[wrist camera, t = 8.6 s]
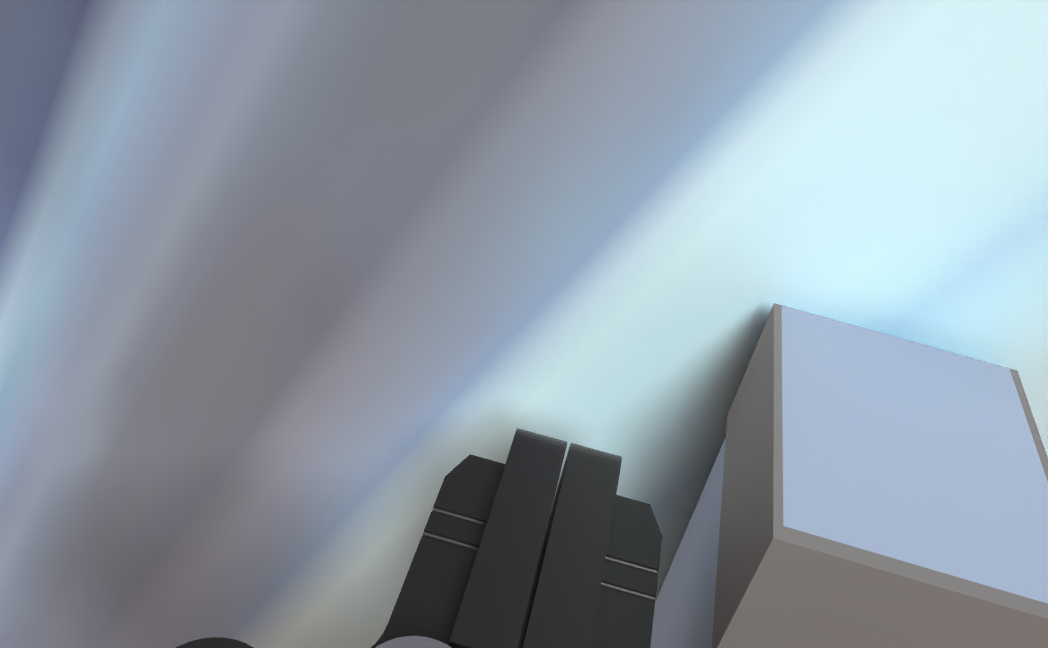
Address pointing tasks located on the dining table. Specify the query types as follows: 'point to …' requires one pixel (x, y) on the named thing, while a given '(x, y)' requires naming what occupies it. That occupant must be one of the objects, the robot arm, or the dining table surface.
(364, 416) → the dining table surface
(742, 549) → the leg
